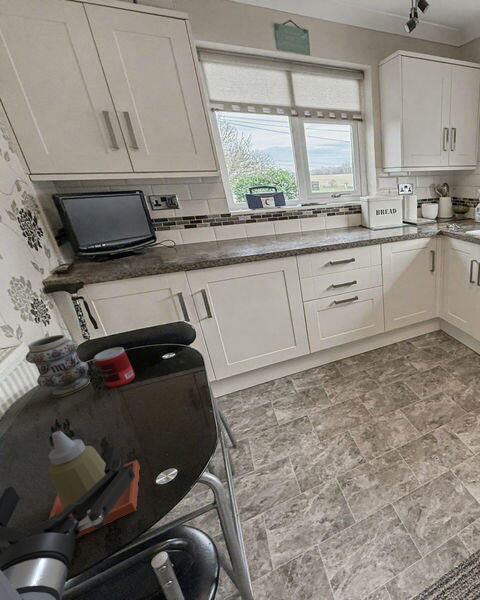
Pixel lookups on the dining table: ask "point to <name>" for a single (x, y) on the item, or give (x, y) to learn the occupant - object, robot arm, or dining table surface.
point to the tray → (122, 506)
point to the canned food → (114, 367)
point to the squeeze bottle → (73, 468)
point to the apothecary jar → (58, 364)
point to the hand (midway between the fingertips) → (66, 471)
